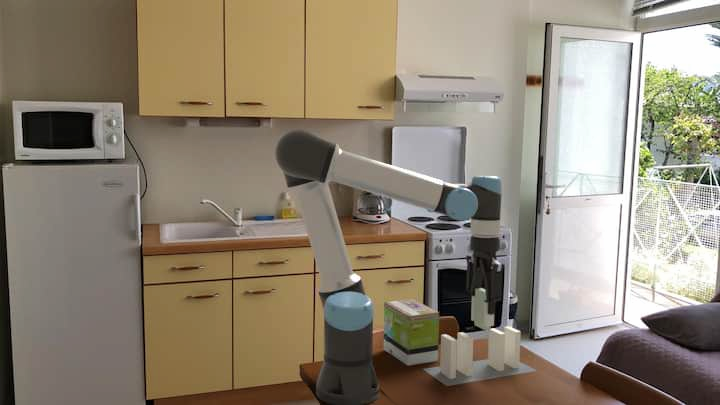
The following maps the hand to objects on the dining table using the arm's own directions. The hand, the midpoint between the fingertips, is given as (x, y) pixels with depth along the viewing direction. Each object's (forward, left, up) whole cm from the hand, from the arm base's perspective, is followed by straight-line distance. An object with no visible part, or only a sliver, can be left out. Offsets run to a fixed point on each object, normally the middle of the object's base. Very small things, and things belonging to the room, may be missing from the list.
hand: (482, 322), depth 157 cm
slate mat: (0, 0, -13) cm, 13 cm away
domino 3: (+5, 0, -13) cm, 14 cm away
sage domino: (0, 0, -1) cm, 1 cm away
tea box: (-12, +17, -14) cm, 25 cm away
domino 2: (-5, 0, -13) cm, 14 cm away
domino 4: (+10, 0, -13) cm, 16 cm away
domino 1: (-10, 0, -13) cm, 16 cm away
